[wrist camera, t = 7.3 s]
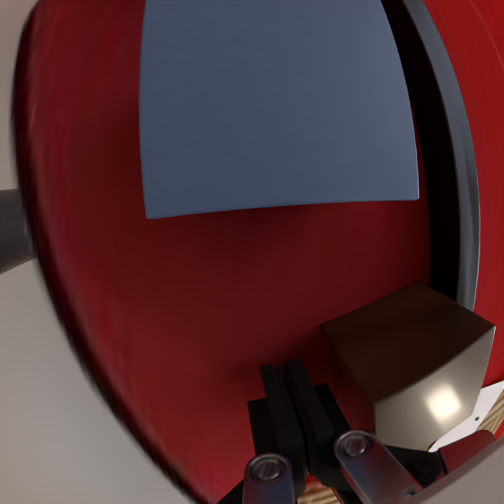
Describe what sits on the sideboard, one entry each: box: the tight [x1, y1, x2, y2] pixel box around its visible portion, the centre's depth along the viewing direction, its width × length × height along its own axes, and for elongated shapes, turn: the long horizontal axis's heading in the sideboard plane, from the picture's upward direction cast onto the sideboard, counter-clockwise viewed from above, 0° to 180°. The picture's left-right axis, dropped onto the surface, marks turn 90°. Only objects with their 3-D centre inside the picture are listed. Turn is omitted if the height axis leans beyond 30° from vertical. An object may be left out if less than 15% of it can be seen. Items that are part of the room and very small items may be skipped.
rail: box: [380, 0, 480, 312], centre depth 8 cm, size 2×26×2 cm, turn 11°
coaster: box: [429, 381, 504, 452], centre depth 14 cm, size 8×8×1 cm
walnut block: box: [320, 281, 495, 450], centre depth 9 cm, size 5×5×5 cm
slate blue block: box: [139, 0, 419, 219], centre depth 6 cm, size 5×5×5 cm
